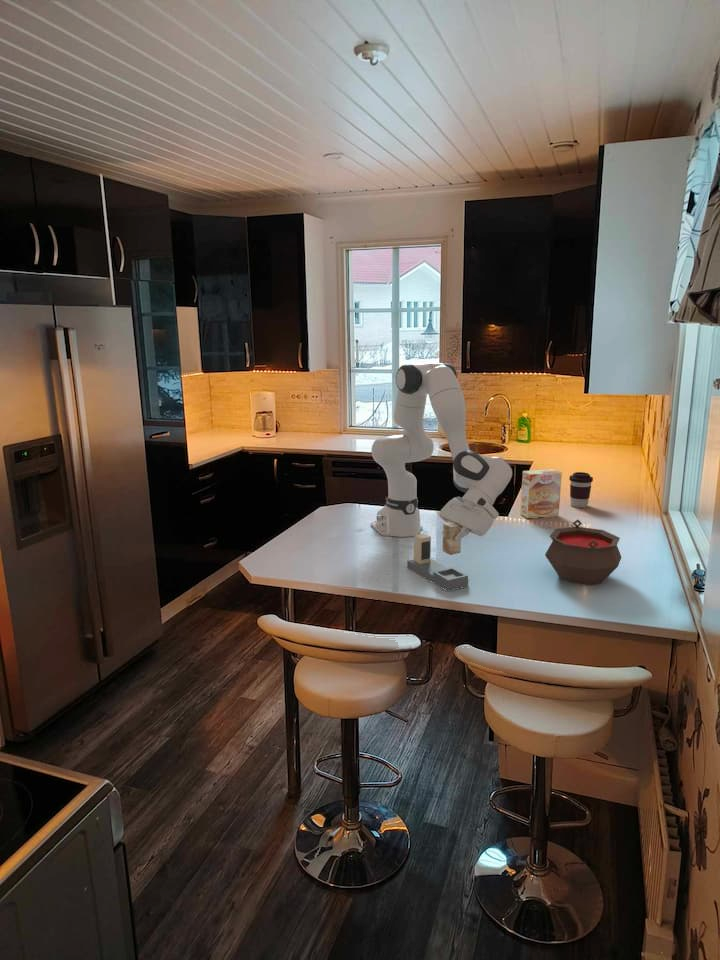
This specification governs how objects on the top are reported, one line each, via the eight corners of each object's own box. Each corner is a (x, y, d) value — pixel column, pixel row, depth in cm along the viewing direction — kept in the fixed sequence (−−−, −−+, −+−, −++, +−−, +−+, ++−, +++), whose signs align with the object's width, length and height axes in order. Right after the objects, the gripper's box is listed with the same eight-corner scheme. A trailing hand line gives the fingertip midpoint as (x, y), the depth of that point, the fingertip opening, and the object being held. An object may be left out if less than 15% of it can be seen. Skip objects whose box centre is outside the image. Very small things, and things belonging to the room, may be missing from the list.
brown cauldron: (537, 562, 220) (540, 516, 216) (609, 564, 217) (613, 518, 213) (550, 590, 197) (553, 540, 193) (631, 593, 194) (636, 542, 190)
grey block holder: (407, 567, 216) (407, 535, 213) (426, 563, 219) (427, 531, 217) (447, 591, 196) (448, 556, 193) (468, 586, 200) (469, 551, 197)
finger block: (442, 550, 200) (442, 523, 197) (452, 548, 201) (453, 521, 199) (450, 555, 196) (450, 527, 194) (460, 552, 198) (461, 525, 196)
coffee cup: (564, 506, 286) (566, 474, 283) (571, 501, 294) (573, 470, 290) (587, 510, 281) (589, 477, 277) (593, 505, 288) (595, 472, 285)
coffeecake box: (527, 519, 268) (530, 474, 264) (519, 514, 275) (521, 470, 270) (559, 516, 272) (562, 472, 267) (550, 512, 278) (553, 468, 274)
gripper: (450, 489, 207) (425, 522, 205) (491, 504, 189) (464, 540, 187) (461, 501, 210) (436, 533, 208) (502, 516, 192) (475, 552, 190)
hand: (449, 537), depth 197 cm, fingers closed on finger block, 4 cm apart
